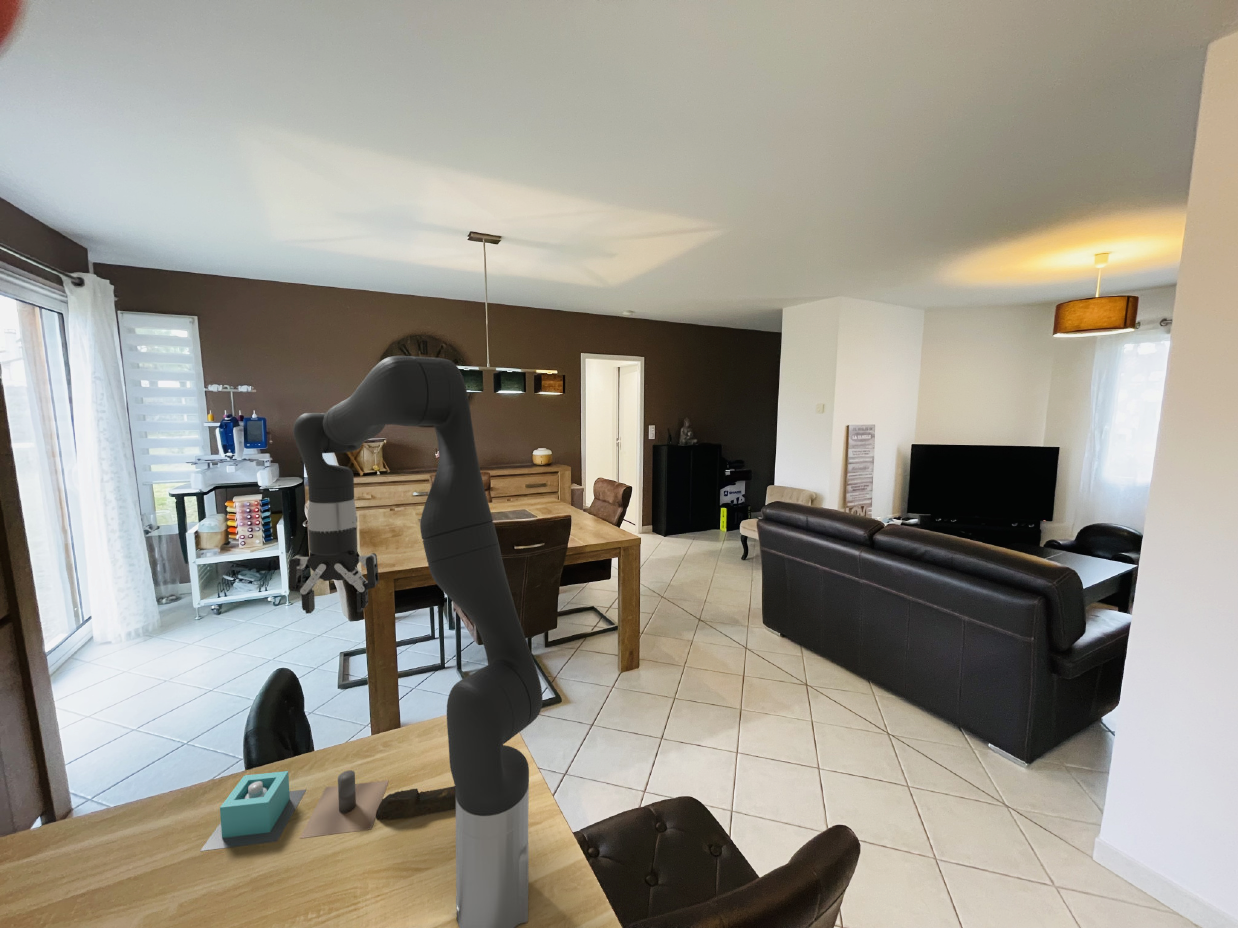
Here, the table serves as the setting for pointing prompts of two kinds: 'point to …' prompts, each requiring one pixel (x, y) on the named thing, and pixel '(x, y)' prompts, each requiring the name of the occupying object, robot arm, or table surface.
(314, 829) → the rod stand
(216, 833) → the grey peg base
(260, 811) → the collar
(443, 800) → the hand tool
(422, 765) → the table surface
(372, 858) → the table surface
